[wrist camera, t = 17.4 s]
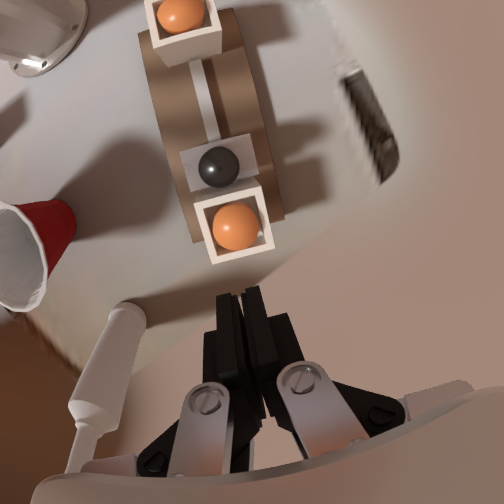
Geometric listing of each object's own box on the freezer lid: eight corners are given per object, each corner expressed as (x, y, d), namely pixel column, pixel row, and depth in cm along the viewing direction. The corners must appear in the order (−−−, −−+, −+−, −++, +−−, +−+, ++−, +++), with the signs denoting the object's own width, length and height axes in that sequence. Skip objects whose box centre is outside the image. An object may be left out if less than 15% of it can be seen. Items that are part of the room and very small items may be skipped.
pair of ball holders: (161, 30, 21) (143, 0, 14) (210, 17, 21) (208, -18, 14) (214, 233, 31) (212, 264, 23) (261, 220, 31) (274, 248, 23)
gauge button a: (158, 10, 15) (154, 1, 13) (200, -1, 15) (199, -11, 14) (165, 41, 17) (161, 33, 15) (208, 30, 17) (207, 21, 15)
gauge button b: (208, 206, 23) (207, 213, 21) (250, 196, 23) (253, 201, 21) (219, 245, 24) (219, 255, 22) (259, 235, 24) (263, 243, 22)
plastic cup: (112, 229, 29) (64, 278, 18) (63, 276, 31) (17, 329, 20) (61, 158, 25) (-6, 176, 14) (17, 214, 26) (-40, 249, 15)
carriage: (184, 150, 24) (169, 154, 17) (246, 134, 24) (256, 131, 17) (193, 186, 26) (183, 204, 19) (255, 170, 26) (268, 182, 19)
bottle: (151, 308, 34) (103, 498, 11) (144, 336, 35) (104, 507, 12) (114, 294, 32) (37, 470, 9) (110, 323, 34) (49, 486, 11)
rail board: (141, 37, 21) (135, 30, 19) (232, 13, 21) (233, 4, 19) (194, 238, 31) (192, 246, 28) (282, 215, 31) (287, 222, 28)
